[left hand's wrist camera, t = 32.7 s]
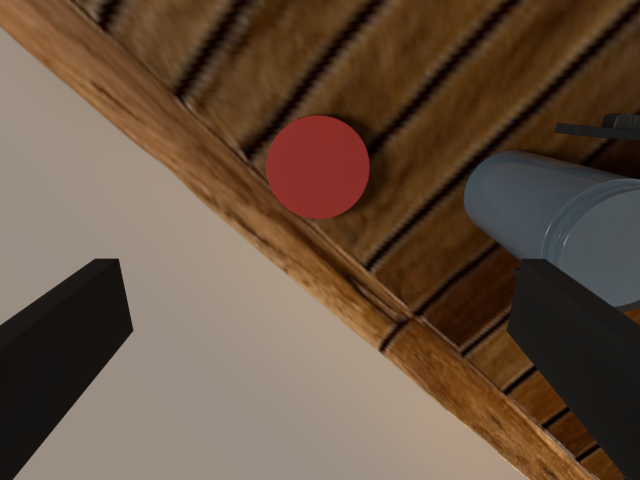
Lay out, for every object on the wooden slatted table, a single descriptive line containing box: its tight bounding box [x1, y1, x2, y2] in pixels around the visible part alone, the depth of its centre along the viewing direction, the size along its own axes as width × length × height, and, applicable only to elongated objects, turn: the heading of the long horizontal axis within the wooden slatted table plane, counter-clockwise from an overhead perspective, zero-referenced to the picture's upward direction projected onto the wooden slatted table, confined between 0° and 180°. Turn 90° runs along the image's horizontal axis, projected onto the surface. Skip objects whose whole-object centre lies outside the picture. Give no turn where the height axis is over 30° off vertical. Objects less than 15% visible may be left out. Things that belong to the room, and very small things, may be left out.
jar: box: [464, 150, 640, 307], centre depth 31 cm, size 9×9×16 cm
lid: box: [267, 114, 370, 219], centre depth 37 cm, size 10×10×2 cm
